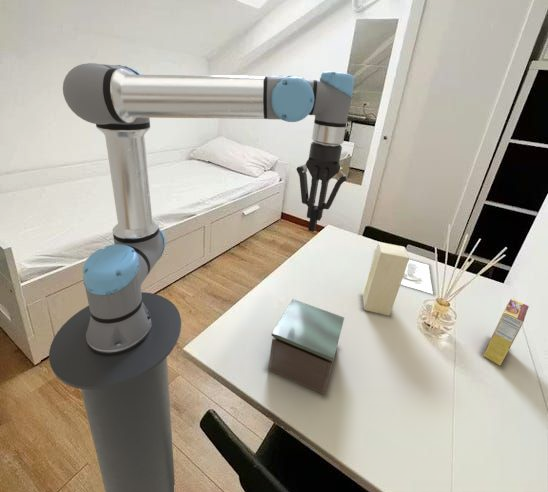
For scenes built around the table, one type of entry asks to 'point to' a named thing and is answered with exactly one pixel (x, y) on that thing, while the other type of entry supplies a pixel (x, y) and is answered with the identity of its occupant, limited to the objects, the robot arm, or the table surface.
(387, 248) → the toy refrigerator
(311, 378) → the chest
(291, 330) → the chest lid
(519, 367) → the table surface
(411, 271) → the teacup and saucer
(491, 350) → the candy box
